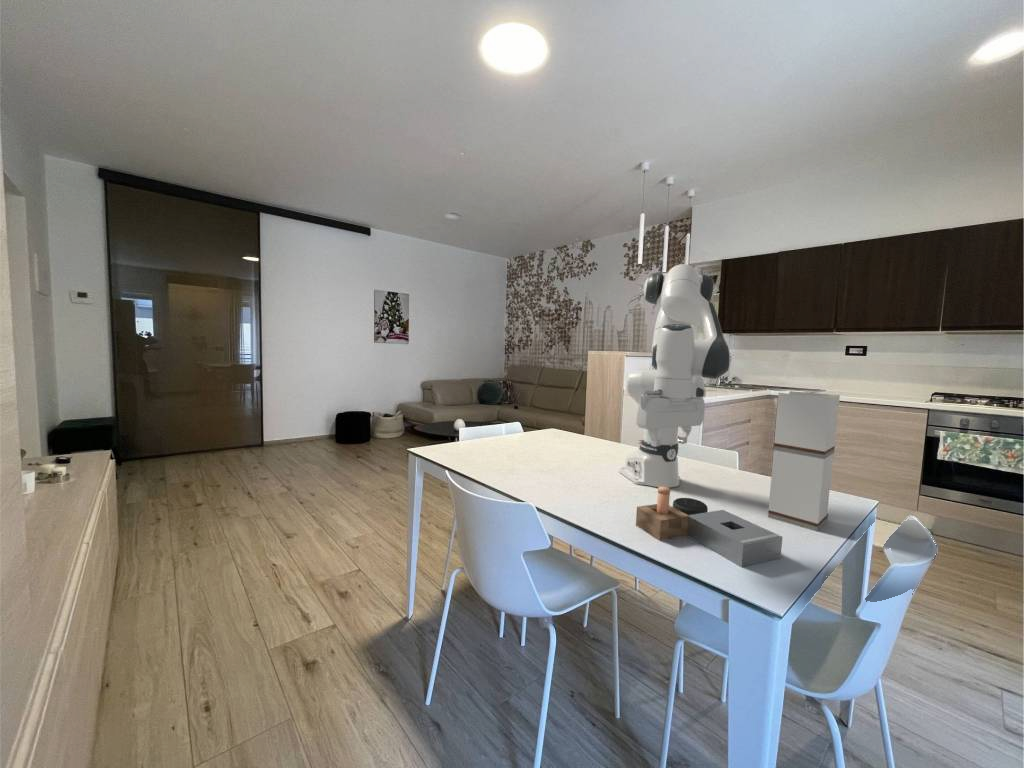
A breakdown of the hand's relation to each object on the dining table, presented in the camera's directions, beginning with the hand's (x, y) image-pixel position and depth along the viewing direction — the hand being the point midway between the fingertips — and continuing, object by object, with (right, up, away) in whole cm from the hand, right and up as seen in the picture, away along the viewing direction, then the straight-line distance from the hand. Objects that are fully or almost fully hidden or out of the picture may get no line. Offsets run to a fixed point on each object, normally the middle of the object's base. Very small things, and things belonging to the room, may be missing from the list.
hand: (669, 444), depth 104 cm
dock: (+13, -23, -5) cm, 27 cm away
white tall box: (+40, -23, +12) cm, 48 cm away
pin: (-1, -22, +2) cm, 22 cm away
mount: (-1, -22, +2) cm, 22 cm away
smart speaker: (+10, -22, +12) cm, 27 cm away
